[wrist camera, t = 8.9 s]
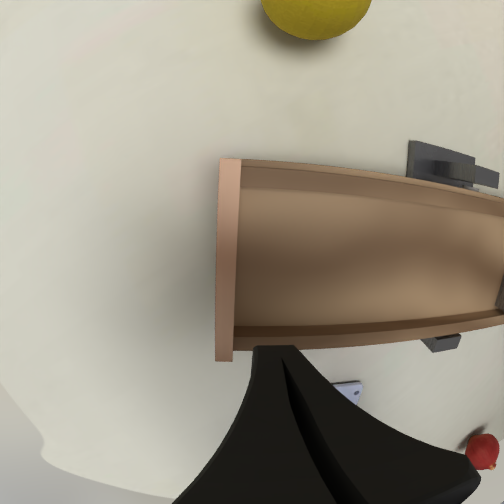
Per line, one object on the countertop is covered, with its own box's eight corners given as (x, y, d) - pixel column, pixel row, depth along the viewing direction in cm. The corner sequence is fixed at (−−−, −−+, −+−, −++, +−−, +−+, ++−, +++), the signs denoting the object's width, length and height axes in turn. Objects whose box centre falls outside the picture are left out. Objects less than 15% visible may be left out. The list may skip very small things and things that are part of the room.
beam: (514, 307, 19) (536, 323, 16) (216, 328, 17) (215, 364, 14) (538, 206, 17) (565, 215, 13) (221, 154, 14) (220, 152, 11)
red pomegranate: (487, 428, 31) (510, 458, 23) (461, 451, 32) (481, 483, 24) (482, 420, 30) (507, 453, 22) (453, 445, 30) (475, 480, 23)
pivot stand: (435, 324, 22) (467, 356, 17) (377, 330, 21) (407, 368, 17) (468, 157, 18) (515, 163, 13) (409, 140, 17) (456, 140, 13)
